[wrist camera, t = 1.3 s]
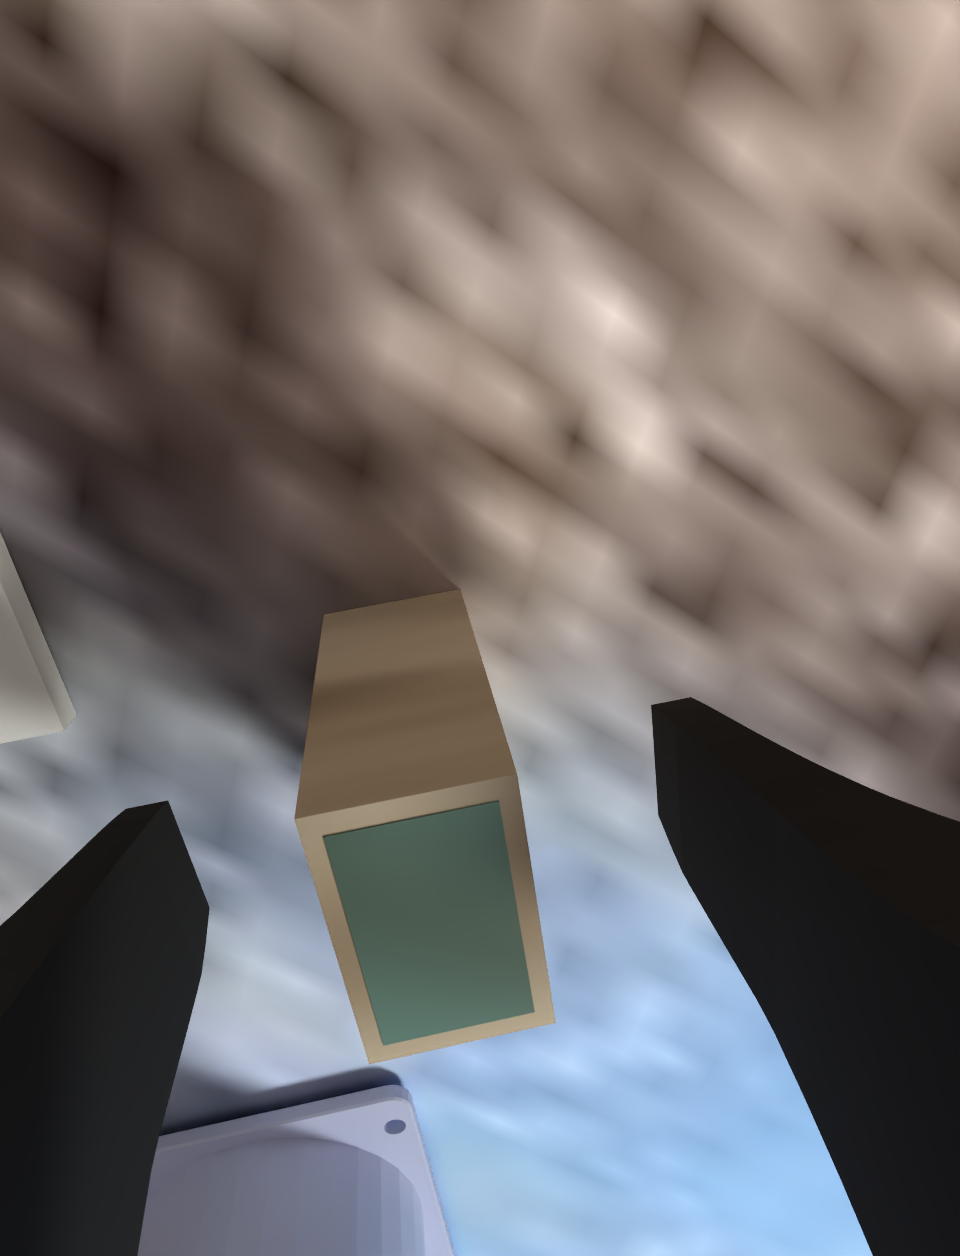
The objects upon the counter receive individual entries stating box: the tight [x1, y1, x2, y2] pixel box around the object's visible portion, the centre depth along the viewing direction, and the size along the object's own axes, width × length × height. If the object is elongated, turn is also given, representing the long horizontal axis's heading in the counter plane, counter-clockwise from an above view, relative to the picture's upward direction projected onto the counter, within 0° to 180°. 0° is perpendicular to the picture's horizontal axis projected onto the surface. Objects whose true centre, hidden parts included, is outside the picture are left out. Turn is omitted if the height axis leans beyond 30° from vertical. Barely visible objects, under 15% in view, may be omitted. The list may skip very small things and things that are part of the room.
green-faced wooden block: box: [295, 589, 556, 1064], centre depth 12 cm, size 4×2×6 cm, turn 9°
